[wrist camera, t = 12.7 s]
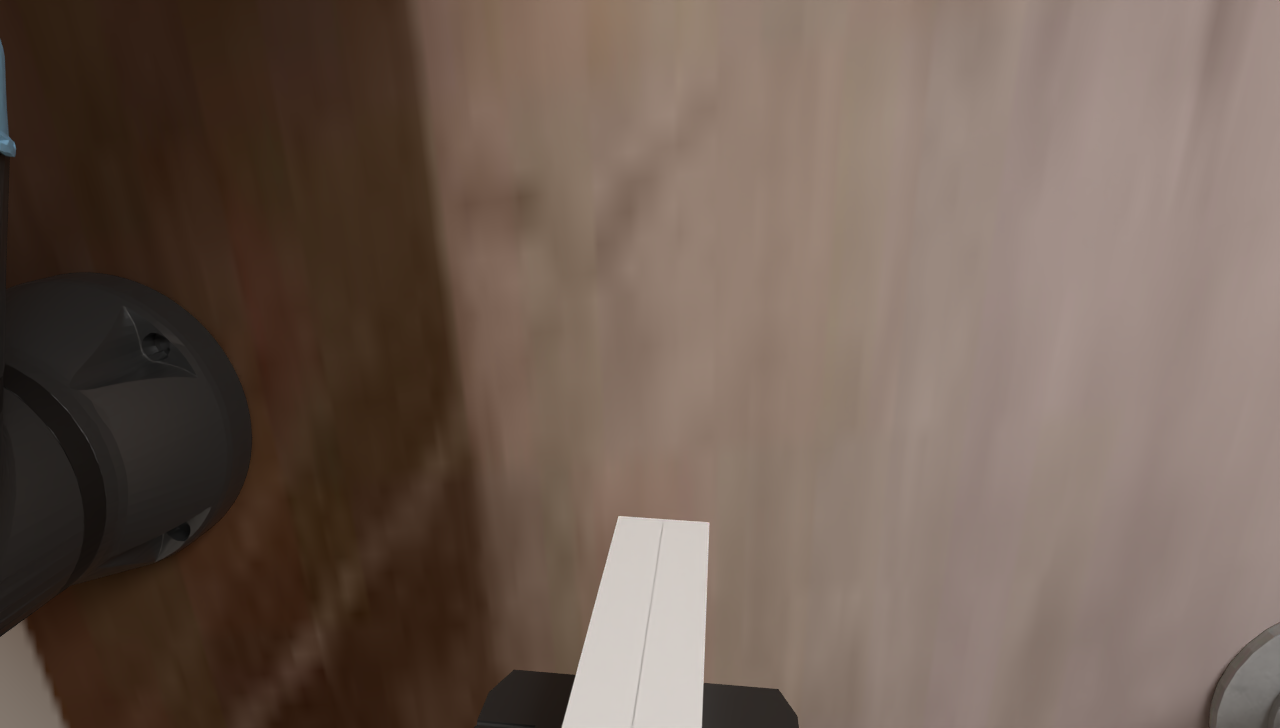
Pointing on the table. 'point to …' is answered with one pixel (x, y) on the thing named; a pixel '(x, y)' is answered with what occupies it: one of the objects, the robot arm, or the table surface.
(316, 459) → the table surface
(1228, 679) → the mate gourd
